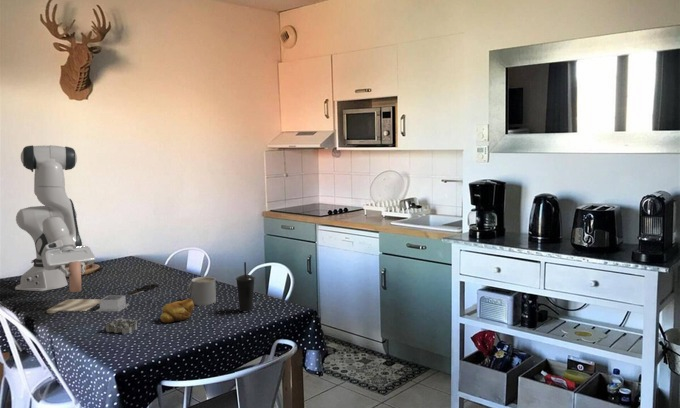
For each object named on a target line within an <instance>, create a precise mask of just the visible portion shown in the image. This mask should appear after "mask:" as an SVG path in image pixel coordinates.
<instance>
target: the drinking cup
mask: <svg viewBox="0 0 680 408" xmlns="http://www.w3.org/2000/svg"><path fill="white" fill-rule="evenodd" d="M243 264H244V265H243V267H244V269H243V270H244V273H243V274H241V275H239V276H237V277H235V280H236V288H237V296H238V303H239V304H238V305H239V311H240V310H241V311H249V310H251V309H252V310H253V302H254V289H255V279H256V277H255V276H254V275H251V274H247V262H243Z"/></svg>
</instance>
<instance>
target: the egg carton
mask: <svg viewBox="0 0 680 408" xmlns="http://www.w3.org/2000/svg"><path fill="white" fill-rule="evenodd" d="M138 321H139V319H129V318H128V319H126V318H122V317H119V318H117V319H113V320H111V321H107V320H106V321H103V323H105V331H106V332H107V333H113V332H114V333H115V334H118V333H121V334H122V335H127V334H131V333H132V331H137V330H138Z"/></svg>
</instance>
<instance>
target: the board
mask: <svg viewBox="0 0 680 408" xmlns="http://www.w3.org/2000/svg"><path fill="white" fill-rule="evenodd" d="M101 299H102V298H101ZM101 299H99V298H98V299H97V298H96V299H91V298H89V299H88V298H85V299H82V298H80V299H79V298H77V299H76V298H72V299H71V298H70V299H69V298H67V299H65V300H64V301H61V302H60V303H58V304H56V305H53V306H52V307H49V308H48V309H46V314H56V313H57V312H87V311H88V310H90V309H91V308H93V307H95V306H96V305H98V304H100V300H101Z"/></svg>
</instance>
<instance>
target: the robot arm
mask: <svg viewBox="0 0 680 408" xmlns="http://www.w3.org/2000/svg"><path fill="white" fill-rule="evenodd" d="M20 162H21V164H22V166H23V167H24V168H25V169H26V170H29V171H31V173H34V177H33V179H34V180H33V182H34V183H33V184H34V185H33V188H34V189H33V193H34V196H36V198H37V200H38V201H39V202H40V203H41V204H42V205H39V206H28V207H25V208H20V209H19V210H18V212H17V213H16V216H15V221H16V224H17V226H18V227H19V228H20V229H21V230H23V231H25V232H26V233H27V234H28V235H29V236H30V237H31V238H32V240H33V242H34V247H35V255H36V258H34V259H33V260H31V261H30V263H31V264H32V265H33V266H32V267H30V268H28V270H26V271H25V272H24V273H23V274H22V275H21V277H20V283H18V285H16V286H15V288H14V290H19V291H31V292H32V291H33V292H44V291H49V290H50V291H51V290H55V289H61V288H64V287H66V286H69V283H68V280H67V278H66V277H69V276H70V275H71V272H70V270H69V262H74V261H80V262H81V275H83V274H85V272H86V271H85V266H90V265H93V264H94V263H95V261H96V256H95V254H94V253H93V251H92V250H91V247H89V246H86V245H83V242H82V238H81V235H80V232H79V227H78V219H77V217H78V216H77V215H78V214H77V211H76V209H75V205H74V203H73V200H72V199H71V198H69V197H68V195H67V192H66V182H65V173H64V171H69V170H72V169H74V168H75V167H76V165H77V163H78V156H77V153H76V150H75V149H74V148H73V147H71V146H61V145H60V146H59V145H52V144H51V145H32V144H31V145H25V146H24V147H23V149H22V151H21V153H20Z"/></svg>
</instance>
